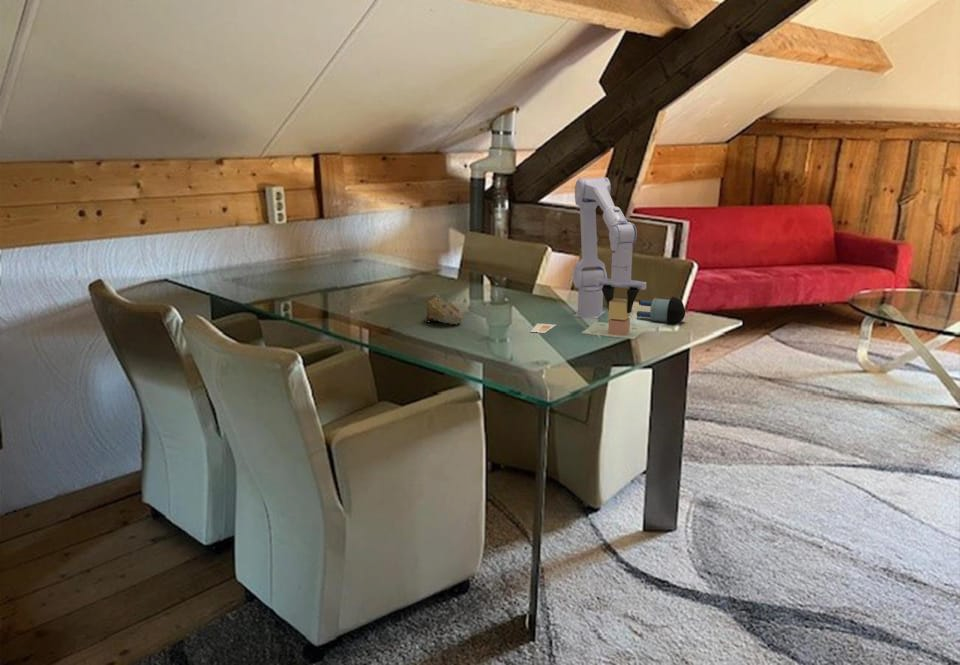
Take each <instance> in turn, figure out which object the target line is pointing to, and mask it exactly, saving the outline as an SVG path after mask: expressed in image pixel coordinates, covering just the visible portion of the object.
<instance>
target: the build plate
mask: <svg viewBox="0 0 960 665" xmlns="http://www.w3.org/2000/svg"><path fill="white" fill-rule="evenodd" d="M647 328H648V327H647V326H639V325H631V324H630V331H629V332H628V333H627V334H626V335H617V334H609V333H608V329H609V322H602V321H595V322H594V323H592V324H591V325H590V326H588V327H586V328H585V330H583V331H582V332H581V334H588V335H598V336H605V337H606V336H607V337H615V338H622V339H631V340H635V339H636V338H637V337H638V336H639V335H640V334H642V333H643V332H644V331H645V330H646V329H647Z"/></svg>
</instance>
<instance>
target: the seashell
mask: <svg viewBox="0 0 960 665" xmlns="http://www.w3.org/2000/svg"><path fill="white" fill-rule="evenodd" d="M434 296H435V297H433V298H432V299H431V300H429V299H428V300H427V301H426V302H427V305H426V306H425V309H426V313H427V314H426V317H425V323H427V322H428V321H434V322H436V321H438V322H440V323H443V324H447V323H449V324H448V325H452V324H456V325H457V324H458V323H459V324H461V322H462V319H463V318H464V317H463V314H462V313H461V311H460V309H459V308H458V307H457V306H456V305H455V304H453V302H452V301H451V300H450V301H448V302H447V301H446V300H444V299H443V298H442V296H441V295H439V294H438V293H435V294H434ZM459 324H458V325H459Z"/></svg>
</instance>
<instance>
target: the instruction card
mask: <svg viewBox="0 0 960 665" xmlns="http://www.w3.org/2000/svg"><path fill="white" fill-rule="evenodd" d="M556 326H557V324H552V323H551V324H549V323H536V324H535V325H534V326H533V328H532V329H531V330H530V331H529V332H537V333H536V334H546V332H548V331H550V330H551V329H553V328H554V327H556Z"/></svg>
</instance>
